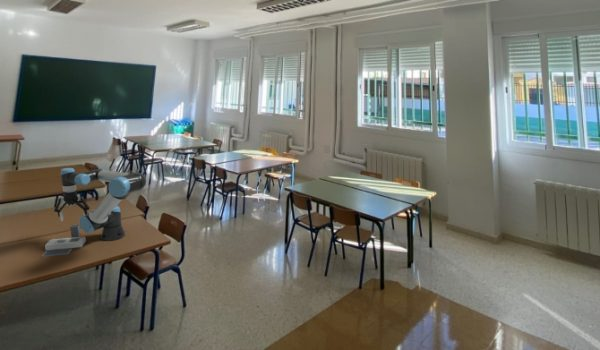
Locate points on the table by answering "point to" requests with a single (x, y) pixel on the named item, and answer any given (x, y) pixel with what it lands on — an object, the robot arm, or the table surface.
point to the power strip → (65, 243)
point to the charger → (75, 231)
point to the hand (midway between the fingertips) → (73, 220)
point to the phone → (56, 252)
